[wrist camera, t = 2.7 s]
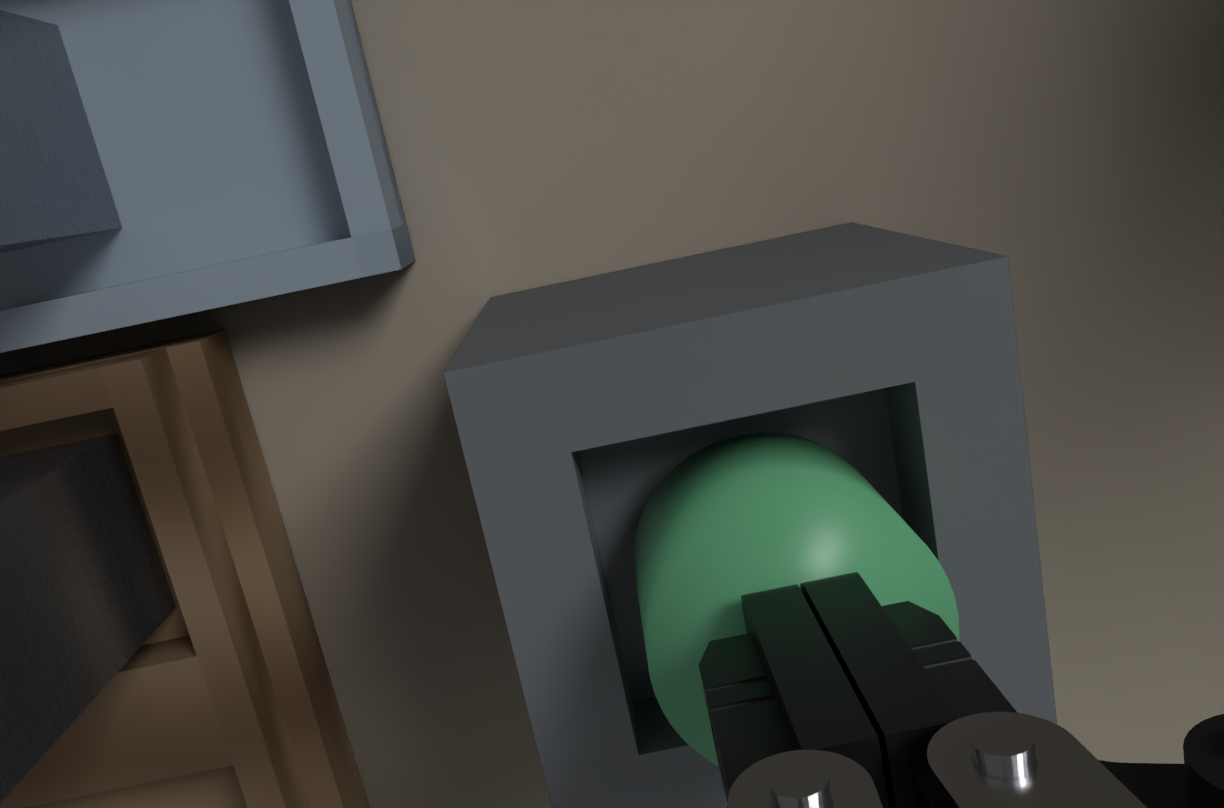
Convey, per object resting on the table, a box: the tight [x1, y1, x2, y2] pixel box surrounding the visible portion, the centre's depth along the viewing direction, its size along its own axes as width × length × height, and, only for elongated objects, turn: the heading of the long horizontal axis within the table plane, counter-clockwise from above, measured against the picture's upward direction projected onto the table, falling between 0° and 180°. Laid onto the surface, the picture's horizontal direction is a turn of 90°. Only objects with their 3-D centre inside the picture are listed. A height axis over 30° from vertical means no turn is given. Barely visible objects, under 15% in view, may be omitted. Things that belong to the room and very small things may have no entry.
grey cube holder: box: [444, 222, 1057, 808], centre depth 19 cm, size 8×8×8 cm
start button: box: [634, 432, 959, 766], centre depth 14 cm, size 4×4×3 cm
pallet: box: [0, 329, 369, 808], centre depth 22 cm, size 15×8×3 cm, turn 12°
